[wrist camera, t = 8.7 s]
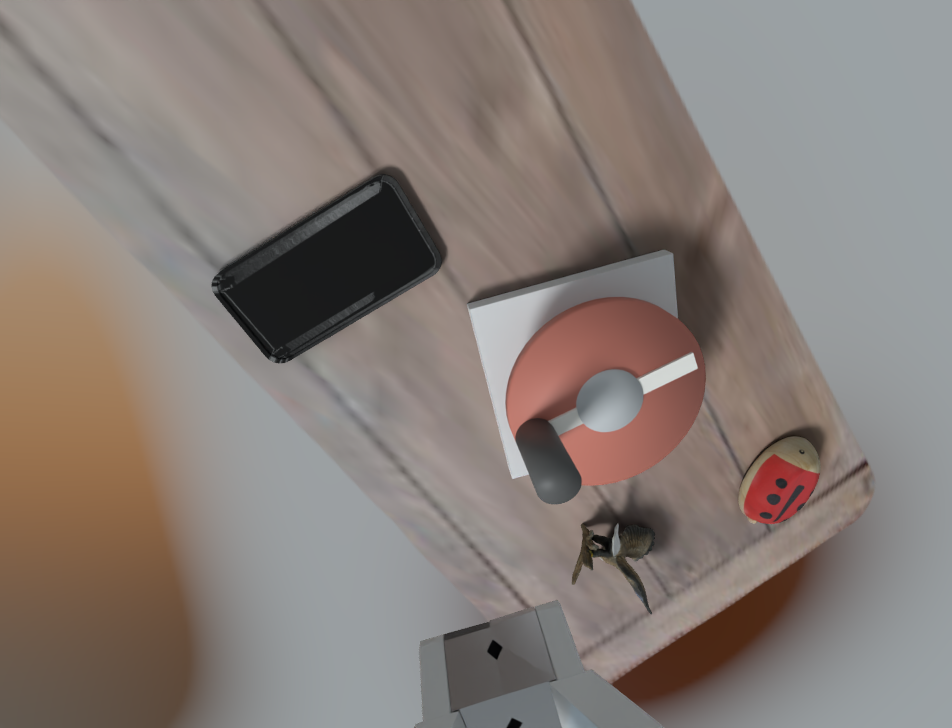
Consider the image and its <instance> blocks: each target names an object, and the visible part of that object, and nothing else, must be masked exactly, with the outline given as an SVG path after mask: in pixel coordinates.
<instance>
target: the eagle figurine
mask: <svg viewBox="0 0 952 728" xmlns="http://www.w3.org/2000/svg"><path fill="white" fill-rule="evenodd" d="M618 527H619V524H617V525H616V526H615V533H614V536H613V538H612V539H610V538H607V537H605V536H599V535H594V533H593V530H591V531H589V530H588V529H587V528H586V527H585V525H584V524H582V525H581V528H582V531H583V534H582V535H583V540H582V547H581V552H580V555H579V558H578V561H577V564H576V567H575V570H574V573H573V576H572V585H574V584H575V582H576V580H577V578H578V576H579V573H580V571H581V568H582V565H583V564H584V566H586V567H588V568H590V569H591V570H593V560H592V557H594V558H595V557H600V559H601V560H603V561H605V562H606V563H608V564H610V565H613V566H615V567H616V568H617V569H619V570H620V571H621V572H622V573H623V574H624V576H625V578H626V579H627V581H628V582H629V583H630V584H631V586H632V587H633V589H634V591H635V593H636V594H637V596H638V597H639V598H640V599H641V601H642V602H643V603H644V605H645V607H646V608H647V610H648V611H649V613H650V614H652V612H651V610H650V608H649V605H648V601H647V596H646V592H645V588H644V586H643V583H642V582H641V579H640V577H639V576H638V574H637V573H636V572H635V571H634V569H633V568H632V567H631V566H630V565H629V564H628V563H627V561H626V559H625V557H630V558H632V559H633V560H634V561H638V559H641V558H643V556H644V555H648V553H649V551H651V550H652V546H653V545H654V541H653V540H654V539H655V537H654V536H655V533H654V531H653V529H651V528H650V529H647V528H645V529H644V528H642V527H640V528H639V526H636V525H631V526H627V527H626V528H625V531H624V532H623V533H622V535H620V536H618ZM592 540H593V541H594V542H596V543H598V544H601V545H602V546H603V549H598V548H599V546H597V545H595V544H594V543H593V541H592Z"/></svg>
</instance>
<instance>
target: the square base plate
mask: <svg viewBox="0 0 952 728" xmlns="http://www.w3.org/2000/svg"><path fill="white" fill-rule="evenodd" d="M606 297H628V298H636V299H640V300H644V301H647V302H650V303H652V304H654V305H657V306H659V307H660V308H662V309H664V310H665V311H667V312H668V313H670V314H672V315H673V316H675V317H676V318H678V312H677V298H676V285H675V272H674V258H673V253H671V252H669V251H666V250H660V251H657V252H653V253H649V254H646V255H642V256H638V257H635V258H631V259H628V260H624V261H620V262H617V263H613V264H609V265H606V266H602V267H599V268H595V269H591V270H588V271H584V272H580V273H577V274H573V275H570V276H566V277H562V278H559V279H555V280H551V281H548V282H544V283H540V284H537V285H533V286H530V287H526V288H522V289H519V290H515V291H511V292H508V293H504V294H501V295H497V296H493V297H490V298H486V299H482V300H479V301H475V302H472V303H468V304H467V306H468V310H469V314H470V318H471V322H472V326H473V330H474V334H475V338H476V342H477V345H478V349H479V353H480V357H481V361H482V365H483V369H484V373H485V377H486V381H487V385H488V389H489V393H490V396H491V400H492V404H493V408H494V412H495V416H496V420H497V424H498V428H499V432H500V436H501V440H502V443H503V447H504V451H505V455H506V459H507V463H508V467H509V470H510V473H511V476H512V479H514V478H518V477H521V476H525V475H528V474H529V473H528V471H527V468H526V466H525V463H524V461H523V459H522V456H521V454H520V451H519V449H518V446H517V444H516V442H515V439H514V437H513V434H512V432H511V430H510V427H509V424H508V420H507V416H506V406H505V400H506V389H507V384H508V379H509V376H510V373H511V370H512V367H513V365H514V363H515V361H516V359H517V357H518V355H519V354H520V352H521V351H522V349H523V348H524V346H525V344H526V343H527V342H528V341H529V340H530V338H531V337H532V336H533V335H534V334H535V333H536V332H537V331H538V330H539V329H540V328H541V327H542V326H543V325H544V324H546V323H547V322H548V321H550V320H551V319H552V318H554V317H555V316H556V315H558V314H560V313H562V312H563V311H565V310H567V309H569V308H571V307H574V306H576V305H578V304H581V303H584V302H587V301H591V300H594V299H600V298H606Z"/></svg>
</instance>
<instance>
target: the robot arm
mask: <svg viewBox="0 0 952 728" xmlns="http://www.w3.org/2000/svg"><path fill="white" fill-rule="evenodd" d="M419 659H420V676H421V694H422V714H423V722H421V723H418V724H416V725H415V727H414V728H664V726H662V725H661V724H660V723H658V722H657V721H656V720H655V719H653V718H652V717H651V716H650V715H648V714H647V713H646V712H645V711H643V710H642V709H641V708H640V707H638V706H637V705H636V704H635V703H633V702H632V701H631V700H629V699H628V698H627V697H626V696H625V695H623V694H622V693H621V692H619V691H618V690H617V689H616V688H614V687H613V686H612V685H611V684H609V683H608V682H607V681H606V680H604V679H603V678H602V677H601V676H599V675H598V674H597V673H596V672H594V671H593V670H588V671H584V668H583V665H582V663H581V660H580V657H579V654H578V652H577V649H576V646H575V643H574V641H573V638H572V635H571V632H570V630H569V627H568V624H567V621H566V619H565V616H564V613H563V610H562V607H561V605H560V603H559V602H558V600H555V601H552V602H549V603H546V604H542V605H539V606H536V607H535V608H534V607H531V608H528V609H524V610H521V611H518V612H515V613H512V614H509V615H506V616H503V617H500V618H496V619H493V620H490V622H487V623H483V624H480V625H476V626H472V627H469V628H465V629H461V630H458V631H454V632H451V633H447V634H443V635H440V636H437V637H433V638H430V639H426V640H423V641H421V642H420V647H419Z"/></svg>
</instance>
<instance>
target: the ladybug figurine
mask: <svg viewBox="0 0 952 728" xmlns="http://www.w3.org/2000/svg"><path fill="white" fill-rule="evenodd" d="M819 475H820V460H819V457H818V454H817V452H816V450H815V448H814V447H813V445H812V444H811V443H810V442H809V441H808V440H807V439H805V438H802V437H797V436H793V437H787V438H784V439H782V440H780V441H778V442H776V443H774V444H773V445H771V446H770V447H769V448H767V449H766V450H765V451H764V452H763V453H762V454H761V455H760V456H759V457H758V458H757V459H756V460H755V462H754V463H753V464H752V466H751V467H750V469H749V470H748V472H747V473H746V475H745V477H744V479H743V481H742V484H741V487H740V490H739V497H738V502H739V506H740V509H741V511H742V512H743V513H744V514H745V515H746V516H747V517H748V520H749V521H750V522H751V523H753V524H755V523H757V522H760V523H766V524H775V523H780V522H783V521H785V520H787V519H789V518H790V517H791V516H793V515H794V514H795V513H796V512H797V511H798V510H800V509H801V508H802V507H803V506H804V504H805V503H806V502H807V500H808V499H809V497H810V496H811V494H812V493H813V491H814V489H815V487H816V484H817V482H818V479H819Z"/></svg>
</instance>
